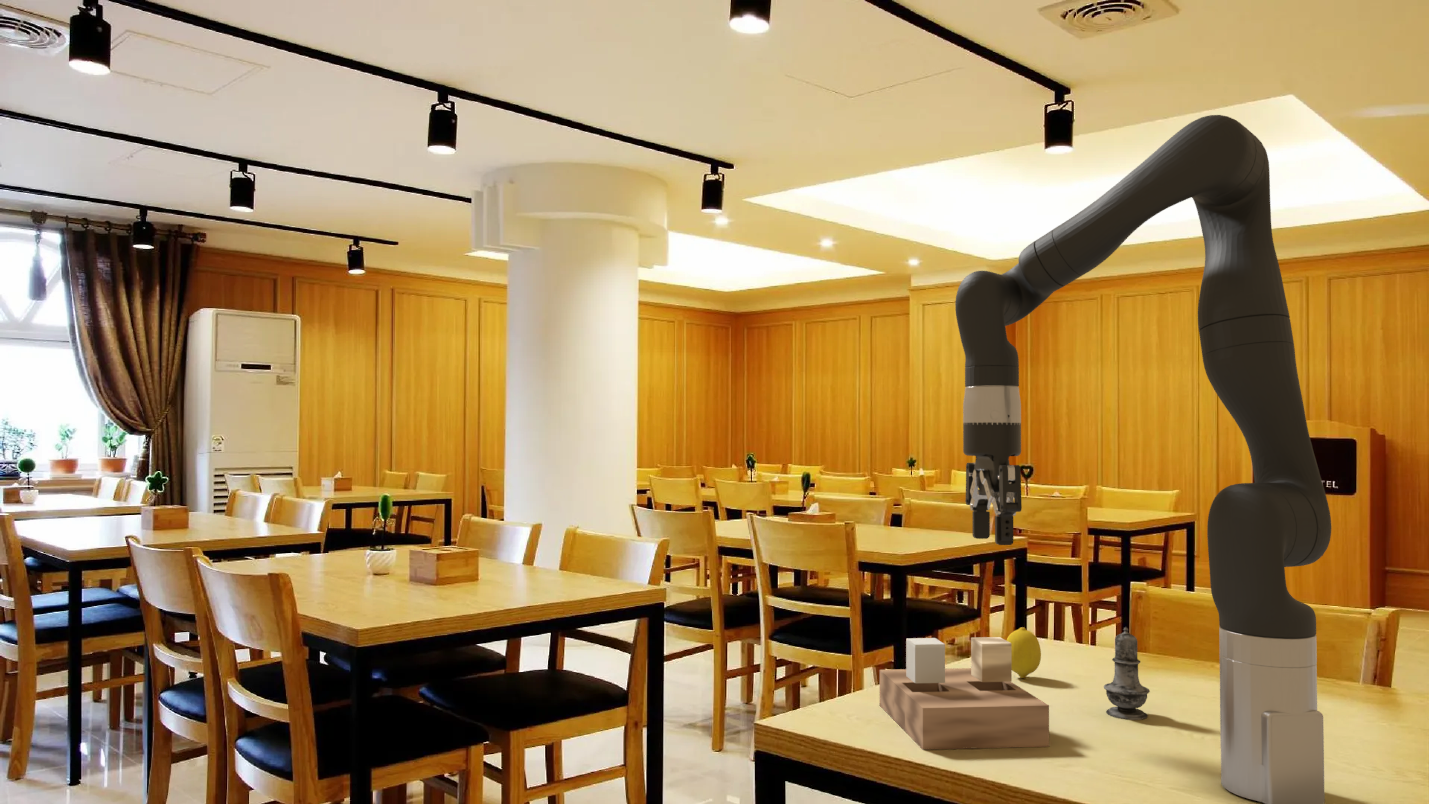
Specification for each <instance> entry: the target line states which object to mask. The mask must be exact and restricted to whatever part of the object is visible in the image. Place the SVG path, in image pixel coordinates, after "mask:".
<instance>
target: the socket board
mask: <svg viewBox="0 0 1429 804" xmlns="http://www.w3.org/2000/svg"><path fill="white" fill-rule="evenodd" d="M879 706H880V707H881V708H882V710H883V711H885V713H886V714H887V715H889V716H890V717H891V718H892V720H894V721H895V723H896V724H897V725H899V727H900V728H901V729H902V730H903V731H904V732H905V733H906V734H907V735H908V736H909V737H910V738H911V739H912V740H913V741H914V742H915V743H916V745H918V746H919V747H920V748H921V749H922V750H923V749H924V750H956V749H959V750H960V749H992V748H993V749H997V748H998V749H999V748H1001V749H1002V748H1033V747H1035V748H1039V747H1044V748H1045V747H1050V705H1049V704H1047V703H1046V702H1045V701H1043V700H1041V699H1040V698H1039V697H1036V696H1034V695H1033V694H1031V693H1029V692H1028V691H1027V690H1025V689H1023V688H1022V687H1021V686H1019V685H1017V684H1015V683H1013V681H1012V682H981V681H980V680H978V679H977V678H975V677H974V676H972V675H971V667H967V668H964V667H959V668H955V667H953V668H952V667H951V668H945V683H914V682H913V681H912V680H911V679H909V678H908V677H907V676H906V668H905V669H904V668H903V669H902V668H900V669H894V668H893V669H879Z"/></svg>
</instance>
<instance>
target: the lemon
mask: <svg viewBox="0 0 1429 804" xmlns="http://www.w3.org/2000/svg"><path fill="white" fill-rule="evenodd" d="M1005 640H1006V641H1008V642H1010V643H1011V661H1012V672H1014V673H1015V674H1017V675H1018V676H1019V678H1021V679H1025V678H1026V677H1027V676H1028V675H1030V674H1032V673H1034V672H1035V671H1036V670H1037V669H1038V668H1039V666H1040V663H1041V659H1042V650H1041V645H1040V642H1039V639H1038V638H1037V636H1036V635H1035V634H1034V633H1033V632H1031V631H1030V630H1027V628H1025V627H1023V626H1022V627H1019V628H1018V629H1015V630H1013V631H1012V632H1011V633H1009V635H1008V636H1007V638H1006V639H1005Z"/></svg>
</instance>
